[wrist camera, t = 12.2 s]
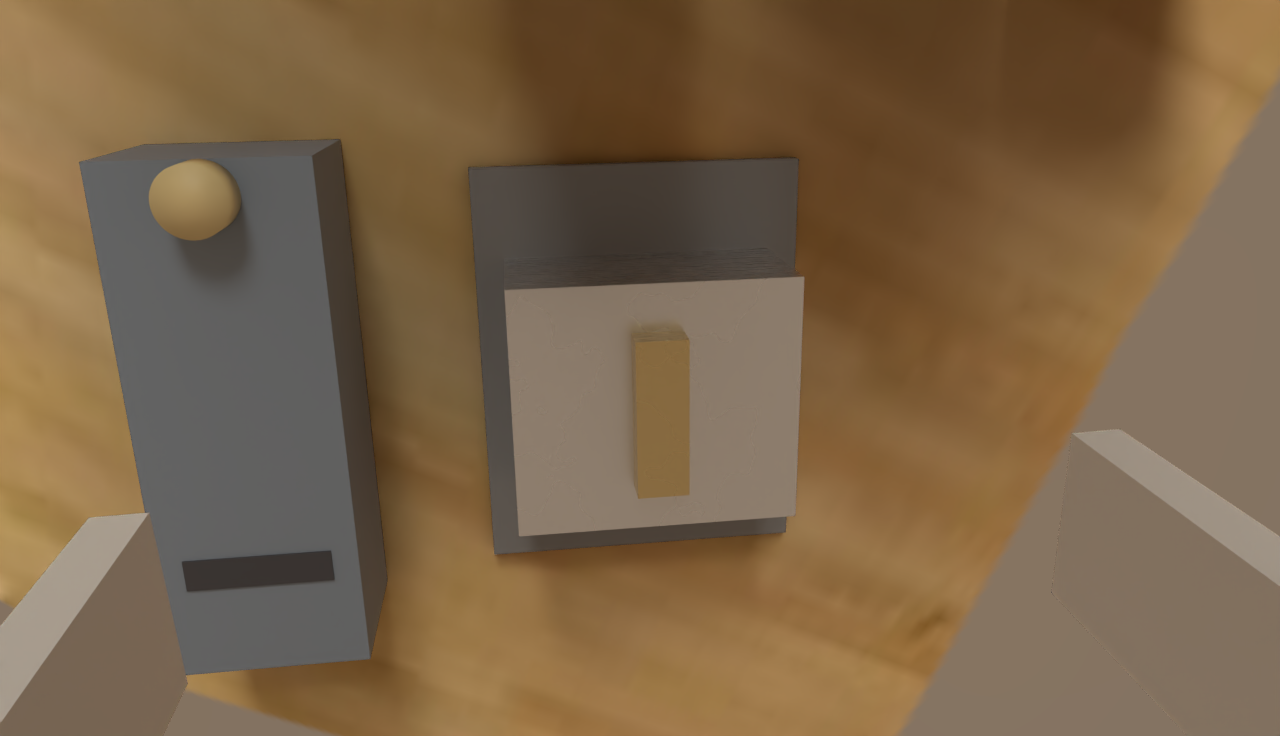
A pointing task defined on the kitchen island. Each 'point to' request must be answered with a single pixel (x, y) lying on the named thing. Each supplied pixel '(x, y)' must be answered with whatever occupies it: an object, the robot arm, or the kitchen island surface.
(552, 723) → the kitchen island surface
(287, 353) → the block plane
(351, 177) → the kitchen island surface
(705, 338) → the lever cap
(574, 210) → the rubber mat
